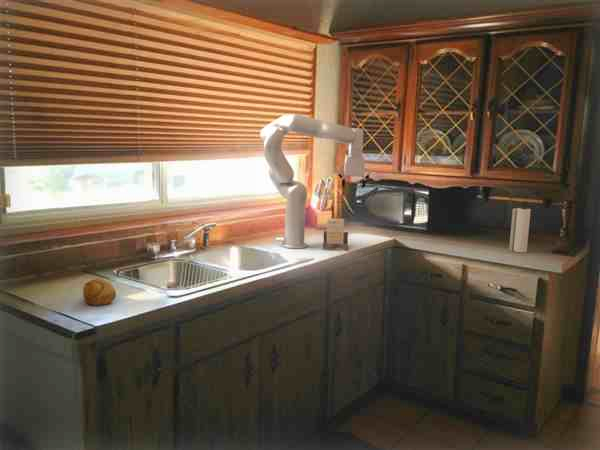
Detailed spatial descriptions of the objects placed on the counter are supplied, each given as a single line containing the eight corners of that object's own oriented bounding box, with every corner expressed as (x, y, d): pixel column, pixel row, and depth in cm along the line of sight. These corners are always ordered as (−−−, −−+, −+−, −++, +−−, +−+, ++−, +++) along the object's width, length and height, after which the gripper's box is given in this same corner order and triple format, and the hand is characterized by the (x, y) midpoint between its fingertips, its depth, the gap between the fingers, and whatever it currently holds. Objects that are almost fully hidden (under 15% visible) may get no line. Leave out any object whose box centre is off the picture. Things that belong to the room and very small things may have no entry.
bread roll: (82, 297, 177) (81, 273, 175) (113, 294, 181) (112, 271, 179) (84, 309, 165) (83, 283, 164) (117, 305, 169) (116, 281, 168)
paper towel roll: (528, 251, 264) (532, 208, 261) (523, 253, 260) (527, 209, 256) (514, 249, 269) (518, 207, 266) (508, 251, 265) (512, 208, 261)
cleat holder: (322, 249, 257) (323, 235, 256) (323, 244, 269) (323, 231, 267) (347, 250, 256) (348, 236, 255) (347, 245, 268) (348, 232, 267)
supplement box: (343, 244, 265) (344, 218, 263) (343, 246, 260) (344, 220, 258) (326, 244, 266) (327, 218, 263) (326, 246, 261) (327, 219, 259)
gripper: (337, 153, 265) (336, 187, 268) (372, 154, 264) (371, 188, 267) (337, 152, 272) (336, 186, 275) (371, 153, 271) (370, 187, 274)
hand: (353, 187), depth 271 cm, fingers open, 9 cm apart
